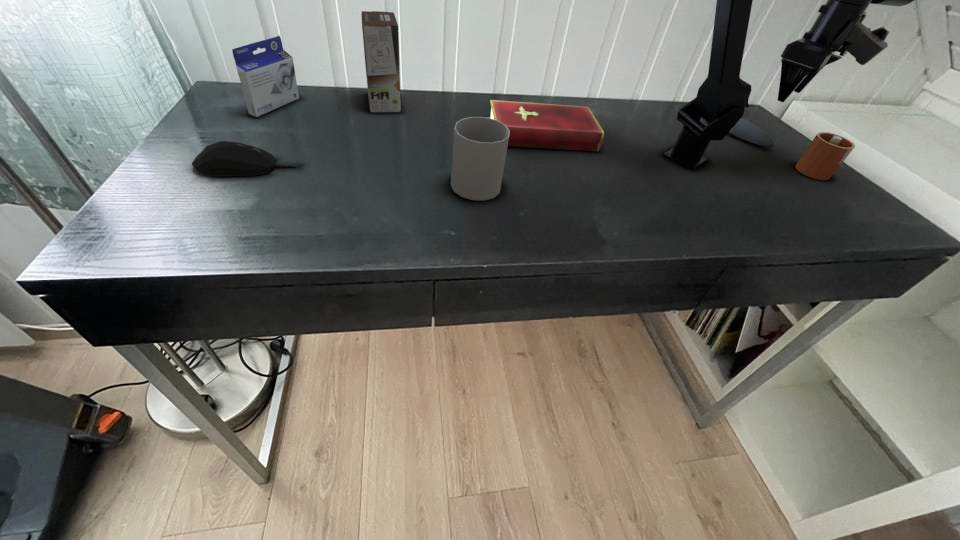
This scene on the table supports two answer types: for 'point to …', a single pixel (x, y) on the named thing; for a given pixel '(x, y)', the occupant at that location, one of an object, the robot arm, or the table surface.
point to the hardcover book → (548, 125)
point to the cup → (479, 157)
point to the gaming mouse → (234, 160)
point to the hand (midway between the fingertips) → (788, 96)
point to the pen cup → (823, 156)
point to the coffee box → (382, 60)
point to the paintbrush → (750, 133)
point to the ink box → (266, 76)
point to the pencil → (835, 140)
